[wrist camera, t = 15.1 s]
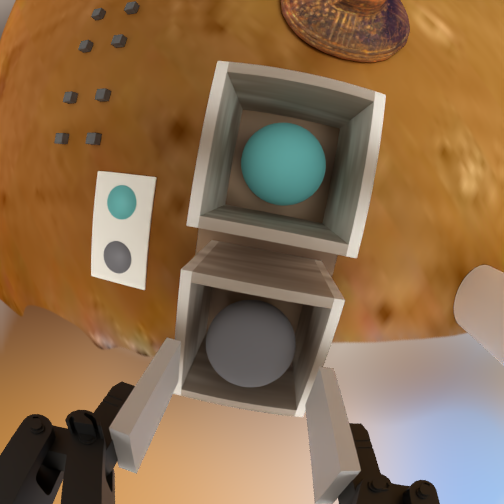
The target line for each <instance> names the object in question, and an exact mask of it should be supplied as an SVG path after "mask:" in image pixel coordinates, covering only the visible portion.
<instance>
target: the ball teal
mask: <svg viewBox="0 0 504 504" xmlns="http://www.w3.org/2000/svg"><path fill="white" fill-rule="evenodd" d="M241 169H242V174H243V177H244V180H245V182H246V184H247V185H248V187H249V188H250V190H251V191H252V192H253V193H254V194H255V195H256V196H258V197H259V198H260V199H262V200H264V201H266V202H268V203H271V204H275V205H281V206H286V205H294V204H297V203H300V202H302V201H304V200H306V199H308V198H309V197H310V196H312V195H313V194H314V193H315V192H316V191H317V189H318V188H319V187H320V185H321V183H322V181H323V178H324V175H325V169H326V160H325V155H324V151H323V149H322V147H321V145H320V143H319V141H318V140H317V139H316V138H315V136H314V135H313V134H312V133H310V132H309V131H308V130H306V129H305V128H303V127H301V126H298V125H296V124H292V123H274V124H270V125H267V126H265V127H263V128H261V129H259V130H258V131H257V132H255V133H254V134H253V135H252V136H251V137H250V139H249V140H248V141H247V143H246V145H245V147H244V150H243V153H242V158H241Z"/></svg>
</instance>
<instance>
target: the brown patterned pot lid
mask: <svg viewBox="0 0 504 504" xmlns="http://www.w3.org/2000/svg"><path fill="white" fill-rule="evenodd" d="M388 4H389V5H388ZM281 8H282V14H283V16H284V18H285V19H286V21H287V23H288V25H289V26H290V27H291V28H292V30H293V31H294V32H295V33H296V34H297V35H298V36H299V37H300V38H302V39H303V40H304V41H305V42H306V43H308V44H309V45H311V46H313V47H315V48H317V49H318V50H320V51H322V52H324V53H327V54H330V55H333V56H336V57H339V58H342V59H346V60H352V61H358V62H377V61H383V60H386V59H388V58H389V57H391V56H392V55H393V54H395V53H396V52H397V51H398V50H400V49H401V48H402V47H404V45H405V44H406V42H407V39H408V35H409V32H410V26H409V19H408V16H407V13H406V10H405V8H404V6H403V4H402V2H401V1H400V0H281ZM355 9H356V10H355ZM304 10H306V11H304ZM314 10H315V11H314ZM360 11H361V12H360ZM325 12H326V13H325ZM326 17H327V18H326ZM346 20H347V21H346ZM345 27H346V28H345ZM400 30H401V31H400ZM336 32H337V33H336ZM386 32H387V33H386ZM331 35H332V36H331ZM367 37H368V38H367ZM342 38H343V39H342ZM355 41H356V42H355ZM386 42H387V43H386ZM349 46H350V47H349ZM365 59H366V60H365Z"/></svg>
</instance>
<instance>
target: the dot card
mask: <svg viewBox="0 0 504 504" xmlns="http://www.w3.org/2000/svg"><path fill="white" fill-rule="evenodd" d="M156 180H157V177H150V176H142V175H133V174H124V173H115V172H105V171H98V175H97V183H96V192H95V202H94V214H93V229H92V254H91V276H94V277H97V278H101V279H104V280H108V281H112V282H115V283H119V284H123V285H127V286H130V287H134V288H138V289H142V290H145V289H146V273H147V259H148V247H149V236H150V227H151V218H152V209H153V201H154V194H155V187H156Z"/></svg>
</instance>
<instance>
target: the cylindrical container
mask: <svg viewBox="0 0 504 504" xmlns="http://www.w3.org/2000/svg"><path fill="white" fill-rule="evenodd" d="M454 316H455V319H456V322H457V323H458V324H459V325H460V326H461V327H462V328H463V329H464V330H465V331H466V332H467V333H469V334H470V335H471V336H472V337H473V338H474V339H475V340H476V341H477V342H479V343H480V344H481V345H482V346H483V347H484V348H485V349H486V350H487V351H488V352H489V353H490V354H491V355H493V356H494V358H496V359H497V360H498V361H499V362H500V363H501V364H502V365H503V366H504V273H503V272H501V271H499V270H497V269H495V268H493V267H491V266H489V265H481V266H478V267H476V268H474V269H473V270H472V271H471V272H469V274H468V275H467V276H466V277H465V278H464V280H463V281H462V283H461V285H460V286H459V289H458V291H457V293H456V297H455V301H454Z"/></svg>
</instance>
